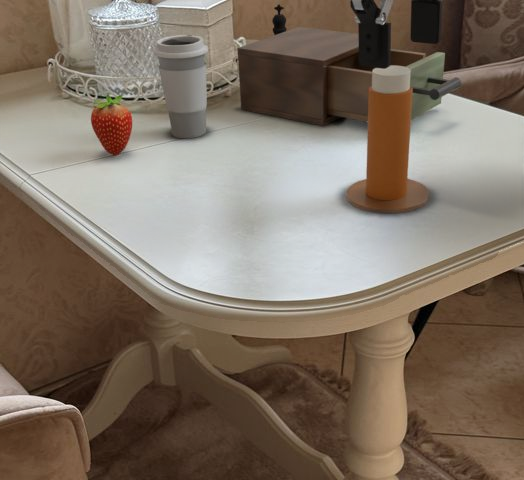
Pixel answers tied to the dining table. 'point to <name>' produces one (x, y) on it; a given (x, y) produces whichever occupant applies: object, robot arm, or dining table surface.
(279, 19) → the chess piece
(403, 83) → the pill bottle
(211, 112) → the dining table surface
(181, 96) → the cup
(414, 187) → the coaster
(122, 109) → the fruit
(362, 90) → the drawer
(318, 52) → the cabinet
